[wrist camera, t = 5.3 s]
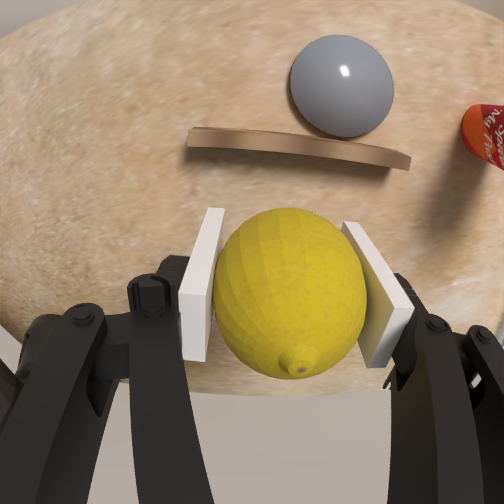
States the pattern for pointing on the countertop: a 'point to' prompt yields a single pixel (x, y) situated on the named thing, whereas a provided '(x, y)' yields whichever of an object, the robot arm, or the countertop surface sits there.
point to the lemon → (289, 294)
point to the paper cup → (485, 132)
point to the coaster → (342, 85)
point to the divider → (297, 145)
